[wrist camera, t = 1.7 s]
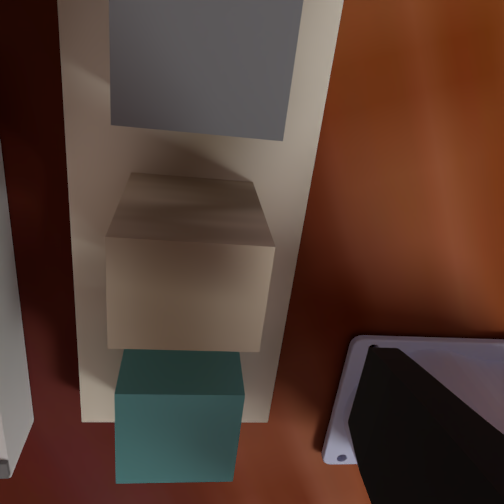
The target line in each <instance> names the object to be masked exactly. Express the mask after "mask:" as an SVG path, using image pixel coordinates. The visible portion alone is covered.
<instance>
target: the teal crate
mask: <svg viewBox="0 0 504 504" xmlns="http://www.w3.org/2000/svg"><path fill="white" fill-rule="evenodd" d="M244 400H245V391H244V383H243V376H242V368H241V361H240V353H239V352H231V351H190V350H149V349H124V351H123V356H122V361H121V365H120V370H119V375H118V380H117V384H116V389H115V394H114V402H115V462H116V484H119V483H173V482H228V481H233V476H234V469H235V462H236V455H237V448H238V441H239V434H240V427H241V421H242V414H243V407H244Z"/></svg>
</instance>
